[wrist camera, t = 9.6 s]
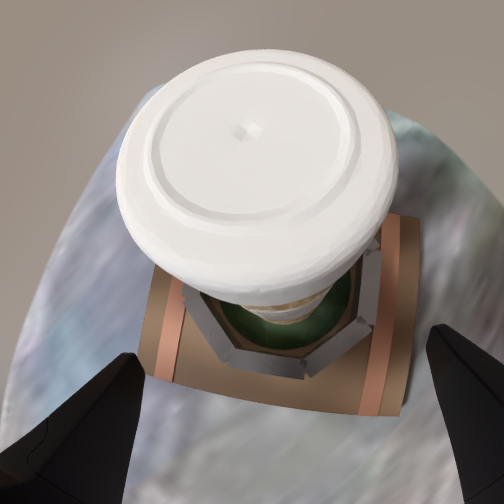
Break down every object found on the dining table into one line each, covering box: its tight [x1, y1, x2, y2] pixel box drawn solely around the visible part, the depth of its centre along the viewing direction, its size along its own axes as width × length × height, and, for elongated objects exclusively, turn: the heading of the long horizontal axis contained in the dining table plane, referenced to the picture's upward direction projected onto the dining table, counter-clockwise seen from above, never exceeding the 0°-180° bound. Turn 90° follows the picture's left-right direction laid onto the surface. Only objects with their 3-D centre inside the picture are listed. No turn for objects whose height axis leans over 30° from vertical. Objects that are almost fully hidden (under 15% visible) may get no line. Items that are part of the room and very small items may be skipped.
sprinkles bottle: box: [116, 49, 399, 325], centre depth 10 cm, size 5×5×13 cm
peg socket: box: [181, 238, 382, 380], centre depth 16 cm, size 10×10×2 cm
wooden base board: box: [137, 213, 420, 417], centre depth 17 cm, size 12×16×1 cm
